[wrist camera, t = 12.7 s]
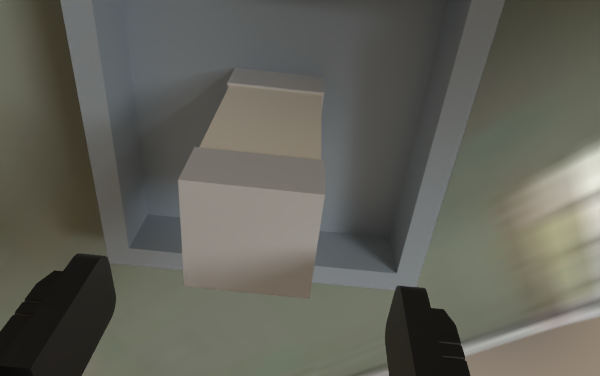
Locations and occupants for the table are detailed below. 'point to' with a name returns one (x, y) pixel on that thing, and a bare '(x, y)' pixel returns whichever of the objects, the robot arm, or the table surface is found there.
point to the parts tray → (334, 122)
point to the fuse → (256, 188)
